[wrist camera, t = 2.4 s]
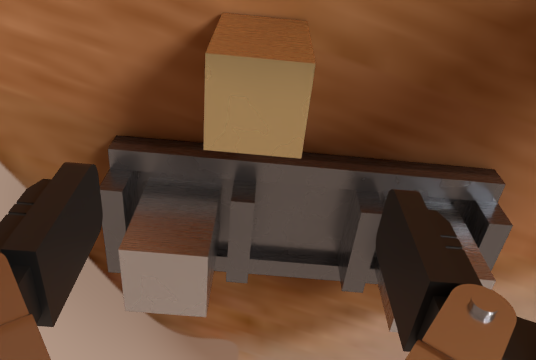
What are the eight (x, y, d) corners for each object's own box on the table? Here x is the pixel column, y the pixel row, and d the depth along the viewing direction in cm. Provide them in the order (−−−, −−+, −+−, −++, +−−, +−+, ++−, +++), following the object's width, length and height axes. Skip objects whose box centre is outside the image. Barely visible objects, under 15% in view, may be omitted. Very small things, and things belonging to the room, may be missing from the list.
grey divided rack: (116, 135, 25) (69, 210, 20) (494, 169, 26) (554, 251, 20) (127, 246, 30) (90, 334, 24) (451, 273, 30) (490, 364, 25)
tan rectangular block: (222, 12, 22) (205, 52, 17) (307, 21, 22) (315, 63, 17) (219, 92, 24) (203, 149, 19) (296, 100, 24) (301, 158, 19)
